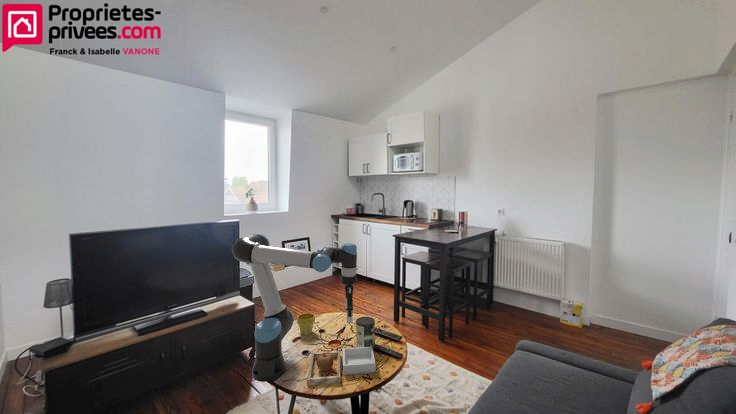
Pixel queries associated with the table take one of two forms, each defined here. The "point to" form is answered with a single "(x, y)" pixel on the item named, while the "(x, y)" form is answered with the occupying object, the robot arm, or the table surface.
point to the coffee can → (365, 332)
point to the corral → (323, 379)
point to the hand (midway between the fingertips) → (348, 316)
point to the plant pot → (306, 323)
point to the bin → (358, 361)
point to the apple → (325, 361)
